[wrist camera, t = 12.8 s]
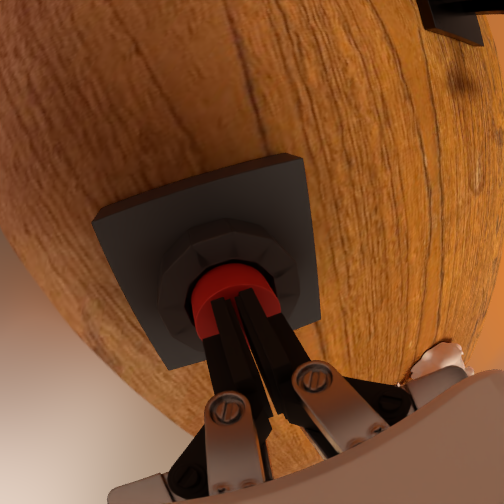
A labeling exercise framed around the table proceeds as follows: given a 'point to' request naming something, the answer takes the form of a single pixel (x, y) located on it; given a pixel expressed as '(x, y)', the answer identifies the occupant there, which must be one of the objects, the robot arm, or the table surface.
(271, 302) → the button
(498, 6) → the switch bracket
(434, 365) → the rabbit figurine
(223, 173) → the control block
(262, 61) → the table surface
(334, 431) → the robot arm
